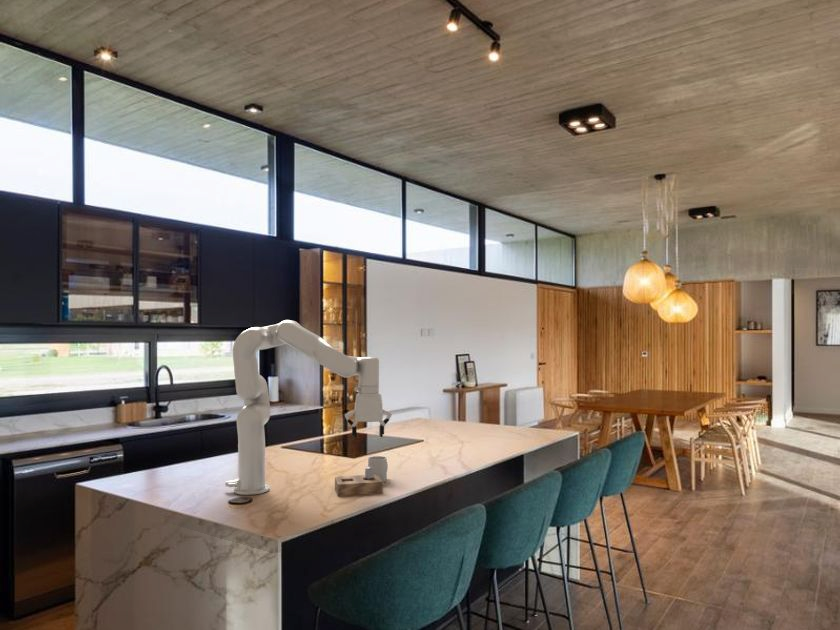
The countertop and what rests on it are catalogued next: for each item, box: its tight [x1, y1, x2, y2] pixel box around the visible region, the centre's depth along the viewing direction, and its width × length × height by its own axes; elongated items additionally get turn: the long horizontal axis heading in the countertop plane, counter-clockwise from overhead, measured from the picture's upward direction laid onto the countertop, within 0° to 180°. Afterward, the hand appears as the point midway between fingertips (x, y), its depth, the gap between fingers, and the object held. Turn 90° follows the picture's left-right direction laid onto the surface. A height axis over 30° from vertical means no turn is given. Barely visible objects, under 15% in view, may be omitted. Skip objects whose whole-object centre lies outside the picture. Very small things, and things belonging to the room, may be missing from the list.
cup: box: [367, 455, 389, 483], centre depth 240 cm, size 7×10×9 cm
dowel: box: [364, 466, 374, 480], centre depth 226 cm, size 3×3×7 cm
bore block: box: [334, 474, 384, 497], centre depth 225 cm, size 16×12×4 cm
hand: (368, 436), depth 227 cm, fingers open, 9 cm apart
